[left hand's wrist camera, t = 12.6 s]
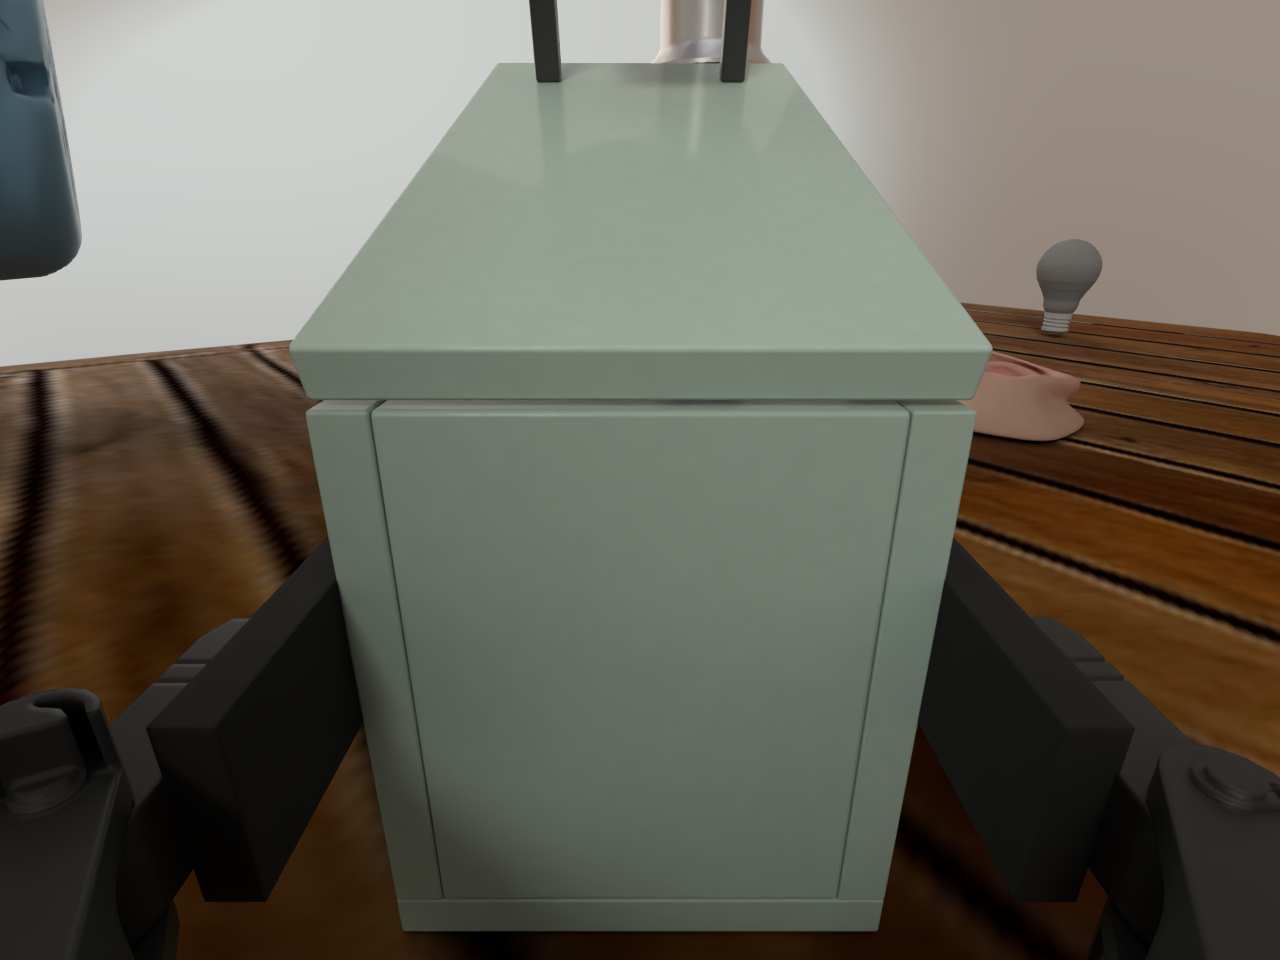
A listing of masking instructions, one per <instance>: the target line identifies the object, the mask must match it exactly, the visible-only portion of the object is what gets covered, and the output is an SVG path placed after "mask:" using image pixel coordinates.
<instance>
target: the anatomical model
mask: <svg viewBox="0 0 1280 960" xmlns="http://www.w3.org/2000/svg"><path fill="white" fill-rule="evenodd" d="M1079 388H1080V380H1079V379H1077V378H1075V377H1073V376H1070V375H1067V374H1064V373H1061V372H1058V371H1054V370H1051V369H1048V368H1044V367H1041V366H1038V365H1035V364H1033V363H1030V362H1027V361H1024V360H1021V359H1018V358H1014V357H1011V356H1008V355H1004V354H1001V353H997V352H993V351H992V354H991V356H990V359H989V361H988V364H987V366H986V369H985V371H984V374H983V376H982V379H981V381H980V384H979V386H978V389H977V391H976V394H975V396H974V397H973V399H971V400H958V401H959V402H961V403H963V404H964V405H966V406H968V407H969V408H971V409H973V410H974V411H976V414H977V415H976V420H975V426H974V431H973V432H976V433H982V434H988V435H994V436H999V437H1006V438H1013V439H1020V440H1029V441H1052V440H1057V439H1060V438H1064V437H1066V436H1068V435H1070V434H1072V433H1074V432H1076V431H1077V430H1079V429H1080V428H1081V427H1082V425H1083V424H1084V419H1083V418H1082V416H1081V415H1080V414H1079V413H1077V412H1076V411H1075V410H1074V409H1073V408H1072V407H1071V406H1070V405H1069V404H1068V403H1067V400H1068V398H1070V397H1071V396H1072V395H1074V394H1075V393H1077V391H1078V390H1079Z"/></svg>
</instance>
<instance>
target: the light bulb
mask: <svg viewBox="0 0 1280 960" xmlns="http://www.w3.org/2000/svg"><path fill="white" fill-rule="evenodd" d="M1101 269H1102V259H1101V256H1100V254H1099V252H1098V251H1097V249H1096V248H1095V247H1094V246H1093V245H1092V244H1090V243H1088V242H1086V241H1082V240H1078V239H1072V240H1067V241H1062V242H1060V243H1057V244H1056V245H1054V246H1052V247H1051V248H1050V249H1049V250H1047V251H1046V253H1045V254H1044V255H1043V256H1042V257H1041V259H1040V261H1039V263H1038V266H1037V280H1038V282H1039V286H1040V288H1041V290H1042V294H1043V297H1044V303H1043V306H1044V310H1045V314H1044V317H1046V318H1044V320H1045V322H1043V324H1044V325H1043V326H1042V328H1041V329H1042V330H1044V331H1046V332H1047V333H1048V334H1053V335H1059V334H1062V333H1064V332H1067V331H1069V329H1068V328H1067V327H1069V326H1068V323H1070V322H1069V320H1070V319H1071V318H1072V314H1073V312H1074V311H1075V310H1076V309H1077V307H1078V304H1079V301H1080V300H1081V298H1082V297H1083V296H1084V294H1085V293H1086V292H1087V291H1088V290H1089V289H1090V288H1091V286H1092V285H1093V284H1094V283H1095V282H1096V280H1097V279H1098V277H1099V275H1100V272H1101Z"/></svg>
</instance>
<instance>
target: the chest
mask: <svg viewBox="0 0 1280 960" xmlns="http://www.w3.org/2000/svg"><path fill="white" fill-rule="evenodd" d="M976 415H977V414H976V411H974V410H973V409H971V408H969V407H968V406H966V405H964V404H963V403H961V402H959V401H958V400H324V401H323V402H321V403H319V404H318V405H316V406H314V407H313V408H311V409H309V410H308V411H306V420H307V426H308V431H309V436H310V442H311V447H312V452H313V457H314V463H315V468H316V473H317V479H318V484H319V489H320V495H321V500H322V505H323V510H324V516H325V521H326V526H327V532H328V537H329V542H330V548H331V553H332V558H333V563H334V569H335V574H336V579H337V585H338V590H339V595H340V601H341V606H342V611H343V616H344V622H345V627H346V632H347V638H348V643H349V648H350V654H351V659H352V664H353V669H354V675H355V680H356V685H357V691H358V696H359V701H360V706H361V712H362V717H363V722H364V728H365V733H366V738H367V744H368V749H369V754H370V760H371V765H372V770H373V775H374V781H375V786H376V791H377V797H378V802H379V807H380V813H381V818H382V823H383V828H384V834H385V839H386V844H387V850H388V855H389V860H390V866H391V871H392V876H393V881H394V887H395V892H396V897H397V898H398V899H397V904H398V909H399V914H400V920H401V925H402V930H403V931H877V930H878V927H879V922H880V917H881V911H882V906H883V899H884V897H885V892H886V886H887V881H888V876H889V871H890V865H891V860H892V855H893V850H894V844H895V839H896V834H897V829H898V823H899V818H900V813H901V808H902V803H903V797H904V792H905V787H906V782H907V776H908V771H909V766H910V761H911V755H912V750H913V745H914V740H915V734H916V729H917V724H918V717H919V712H920V706H921V701H922V696H923V691H924V685H925V680H926V675H927V670H928V664H929V659H930V654H931V649H932V643H933V638H934V633H935V627H936V622H937V617H938V612H939V606H940V601H941V596H942V591H943V585H944V580H945V577H946V572H947V567H948V562H949V556H950V551H951V546H952V541H953V536H954V530H955V525H956V520H957V515H958V509H959V504H960V499H961V494H962V488H963V483H964V478H965V473H966V467H967V462H968V457H969V452H970V447H971V441H972V436H973V431H974V426H975V420H976Z"/></svg>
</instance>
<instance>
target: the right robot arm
mask: <svg viewBox="0 0 1280 960" xmlns="http://www.w3.org/2000/svg"><path fill="white" fill-rule="evenodd" d="M763 1H764V0H752V4H751V15H750V26H749V37H748V48H747V59H746V63H771V62H770V61H769V59H768V58H767V57H766V56H765V55H764V54H763V51H762V49H761V36H762V19H763ZM723 12H724V0H661V43H660V45H661V46H660V52H659V54H658V56H657V57H656V58H655V59H654V60H653V61H652V62H651V63H720V55H721V41H722V26H723Z"/></svg>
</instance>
